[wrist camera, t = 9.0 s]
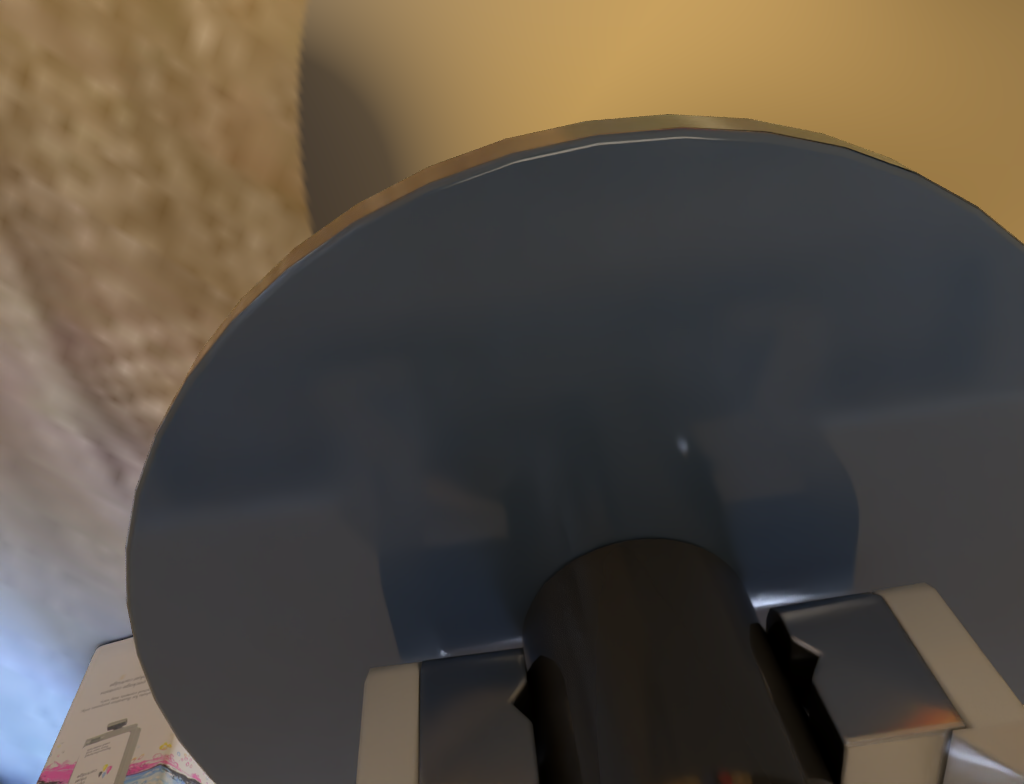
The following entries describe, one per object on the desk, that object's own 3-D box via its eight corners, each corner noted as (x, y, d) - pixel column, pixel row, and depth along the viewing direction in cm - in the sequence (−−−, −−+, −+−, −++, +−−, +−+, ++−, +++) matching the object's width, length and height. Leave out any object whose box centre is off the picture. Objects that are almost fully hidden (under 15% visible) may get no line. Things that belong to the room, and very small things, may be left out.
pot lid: (645, 902, 14) (724, 1264, 10) (-1, 646, 10) (-247, 1071, 6) (1220, 457, 10) (1663, 767, 7) (549, -182, 7) (701, -292, 3)
